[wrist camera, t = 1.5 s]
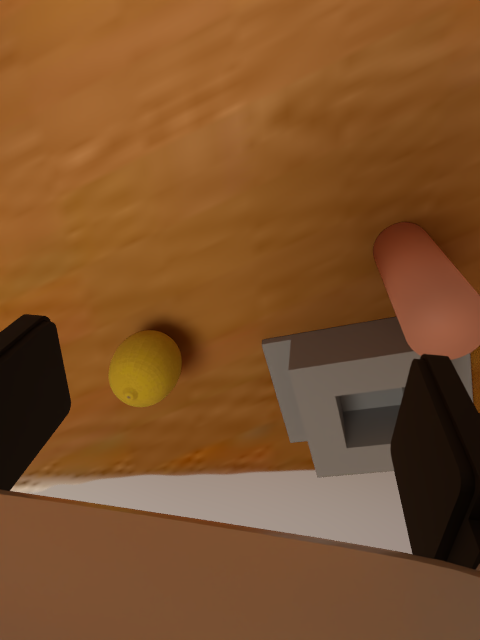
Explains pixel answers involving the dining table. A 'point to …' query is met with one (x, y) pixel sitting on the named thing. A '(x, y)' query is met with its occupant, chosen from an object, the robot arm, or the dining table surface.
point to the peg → (427, 293)
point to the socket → (345, 391)
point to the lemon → (145, 368)
